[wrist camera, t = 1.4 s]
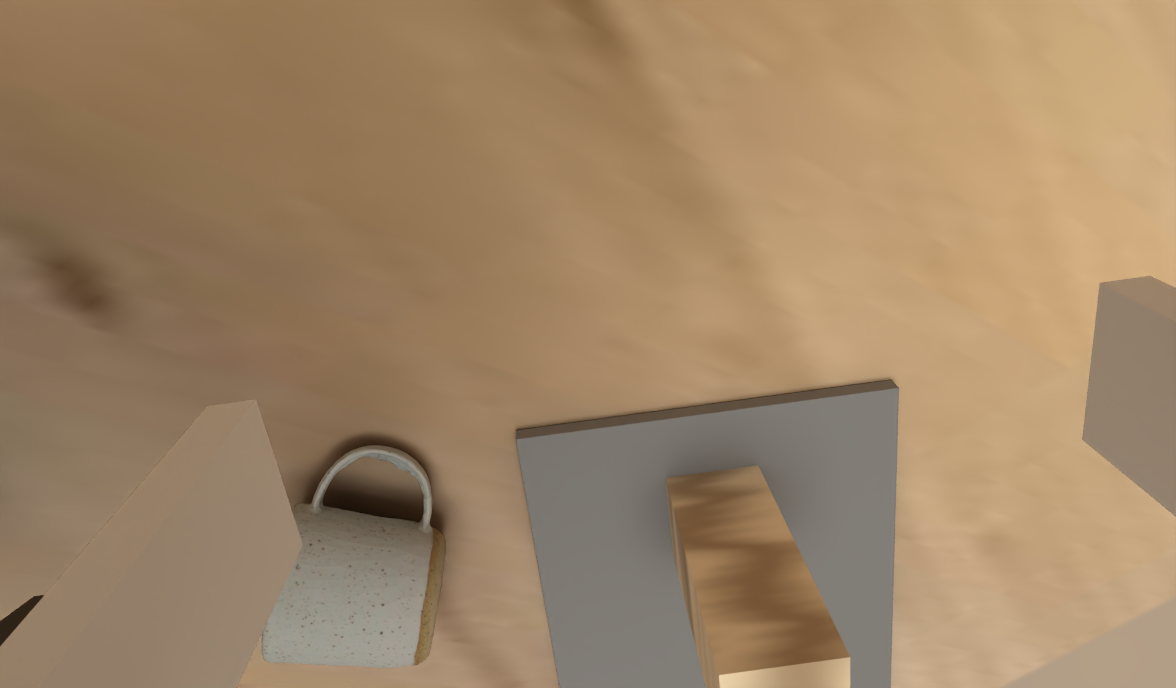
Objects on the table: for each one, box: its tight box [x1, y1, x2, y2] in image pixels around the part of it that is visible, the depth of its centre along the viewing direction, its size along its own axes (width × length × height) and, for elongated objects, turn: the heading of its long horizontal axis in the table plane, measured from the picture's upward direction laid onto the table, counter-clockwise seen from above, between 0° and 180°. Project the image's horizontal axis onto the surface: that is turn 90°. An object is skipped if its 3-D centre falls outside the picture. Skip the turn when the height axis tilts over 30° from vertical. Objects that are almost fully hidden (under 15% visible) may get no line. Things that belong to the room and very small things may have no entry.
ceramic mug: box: [262, 445, 446, 668], centre depth 42 cm, size 11×8×8 cm
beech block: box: [666, 465, 850, 688], centre depth 38 cm, size 5×5×14 cm
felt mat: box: [516, 380, 899, 688], centre depth 47 cm, size 20×22×1 cm
